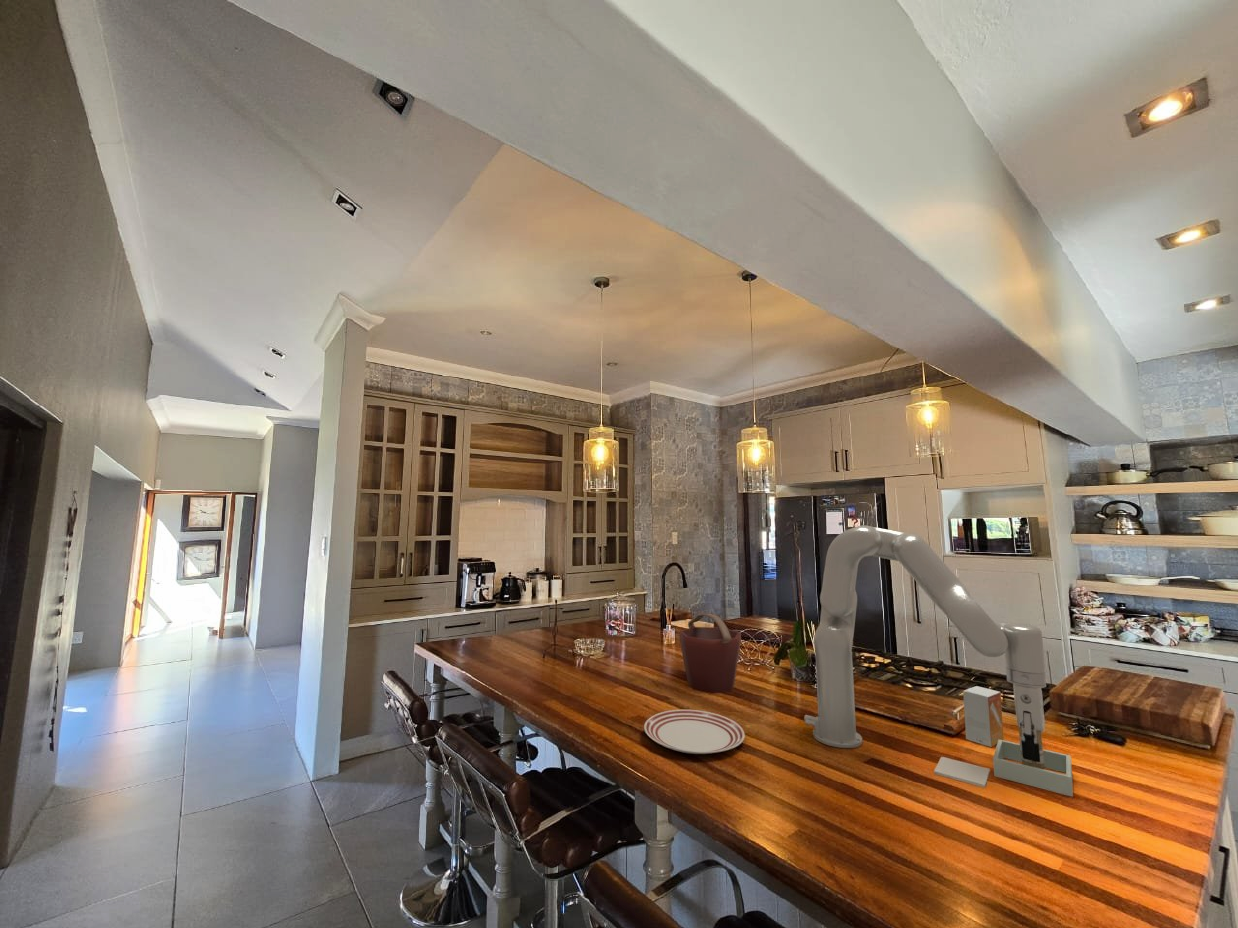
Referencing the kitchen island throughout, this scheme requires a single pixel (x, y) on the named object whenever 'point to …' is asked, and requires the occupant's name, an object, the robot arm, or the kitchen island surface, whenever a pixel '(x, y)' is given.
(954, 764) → the tile
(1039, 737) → the sprinkles bottle
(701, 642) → the bucket
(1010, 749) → the tray
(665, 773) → the kitchen island surface
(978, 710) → the small box
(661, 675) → the kitchen island surface
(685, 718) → the dinner plate
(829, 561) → the robot arm
